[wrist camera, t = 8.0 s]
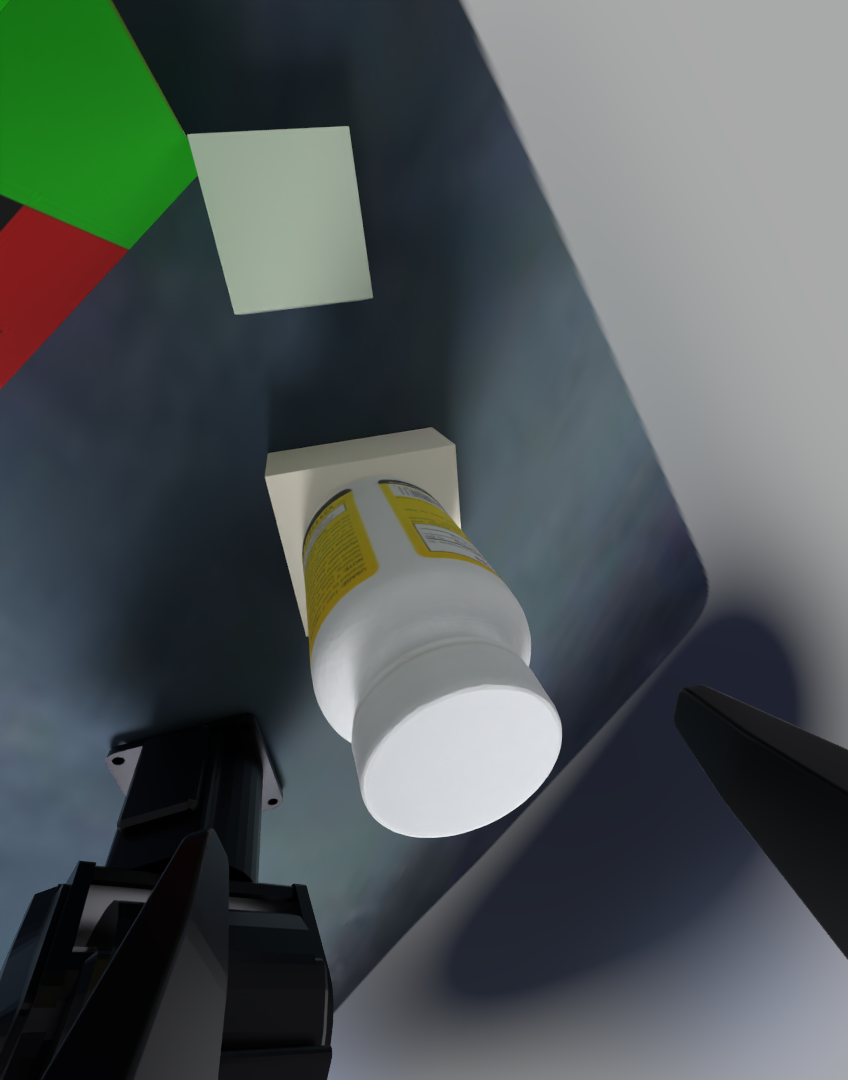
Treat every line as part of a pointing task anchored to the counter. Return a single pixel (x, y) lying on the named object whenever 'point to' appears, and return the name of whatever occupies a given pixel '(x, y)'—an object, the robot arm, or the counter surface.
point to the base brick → (325, 468)
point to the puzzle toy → (74, 161)
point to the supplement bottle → (422, 662)
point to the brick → (284, 216)
